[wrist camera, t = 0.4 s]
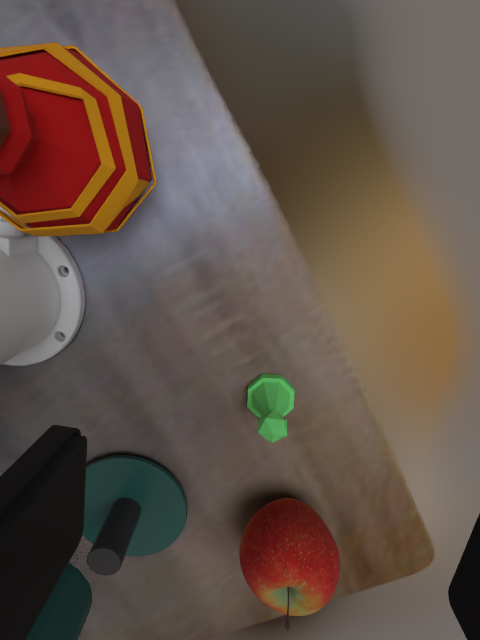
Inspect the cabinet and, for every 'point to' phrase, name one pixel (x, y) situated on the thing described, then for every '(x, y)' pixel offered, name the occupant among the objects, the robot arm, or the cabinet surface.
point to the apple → (289, 558)
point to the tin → (64, 609)
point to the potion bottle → (68, 144)
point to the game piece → (271, 404)
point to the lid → (130, 510)
